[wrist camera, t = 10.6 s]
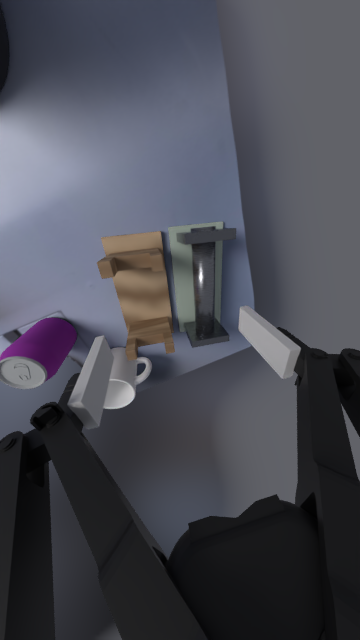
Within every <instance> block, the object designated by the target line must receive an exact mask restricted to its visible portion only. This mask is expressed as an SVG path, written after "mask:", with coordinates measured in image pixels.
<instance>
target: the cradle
mask: <svg viewBox="0 0 360 640" xmlns="http://www.w3.org/2000/svg"><path fill="white" fill-rule="evenodd" d="M101 240H102V243H103V247H104V250H105V254H106V257H104V258H103V259H101V260H100V261H98V262H97V265H98V268H99V271H100V274H101V277H102V279H103V278H111V277H112V278H113V281H114V285H115V288H116V292H117V295H118V299H119V302H120V306H121V309H122V313H123V316H124V320H125V323H126V327H127V330H128V338H127V344H126V350H125V352H126V356H127V359H128V361H130V360H136V359H137V355H138V347H140V346H145V345H151V344H156V343H162V342H164V343H165V349H166V354H168V353H173V352H175V349H174V342H173V338H172V334H171V333H174V330H173V323H172V315H171V307H170V299H169V292H168V284H167V276H166V269H165V261H164V253H163V245H162V238H161V231H158V232H149V233H139V234H130V235H120V236H111V237H102V238H101Z"/></svg>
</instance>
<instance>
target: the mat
mask: <svg viewBox="0 0 360 640" xmlns="http://www.w3.org/2000/svg"><path fill="white" fill-rule="evenodd" d="M210 226H216V229H223V222H214V223H204V224H195V225H185V226H175V227H168V230H169V239H170V248H171V257H172V266H173V276H174V285H175V294H176V303H177V312H178V321H179V331H180V332H185V331H186V330H185V328H184V323H187V322H193V321H195V308H194V289H193V269H192V249H191V244H187V245H185V244H182V243H179V242H177V237H176V233H181V232H190V231H191V230H190V229H191V228H200V227H210ZM222 243H223V241H216V247H215V318H216V319H217V320H218V322H219V323H220V311H221V277H222Z"/></svg>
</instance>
